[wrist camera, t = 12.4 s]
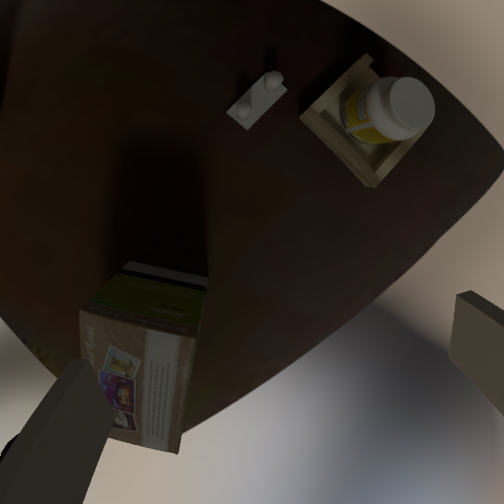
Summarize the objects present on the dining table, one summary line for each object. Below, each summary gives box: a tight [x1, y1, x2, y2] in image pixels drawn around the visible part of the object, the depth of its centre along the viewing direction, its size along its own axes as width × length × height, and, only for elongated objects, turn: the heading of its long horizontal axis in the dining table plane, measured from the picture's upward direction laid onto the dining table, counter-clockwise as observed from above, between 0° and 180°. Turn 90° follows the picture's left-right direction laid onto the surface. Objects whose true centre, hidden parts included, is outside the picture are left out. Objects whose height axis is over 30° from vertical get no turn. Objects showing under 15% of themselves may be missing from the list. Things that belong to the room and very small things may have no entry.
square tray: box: [298, 53, 428, 188], centre depth 31 cm, size 11×11×3 cm
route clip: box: [227, 71, 288, 130], centre depth 30 cm, size 3×6×4 cm, turn 138°
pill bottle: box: [340, 77, 435, 145], centre depth 27 cm, size 6×6×11 cm
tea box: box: [79, 261, 208, 455], centre depth 31 cm, size 15×10×15 cm, turn 167°
